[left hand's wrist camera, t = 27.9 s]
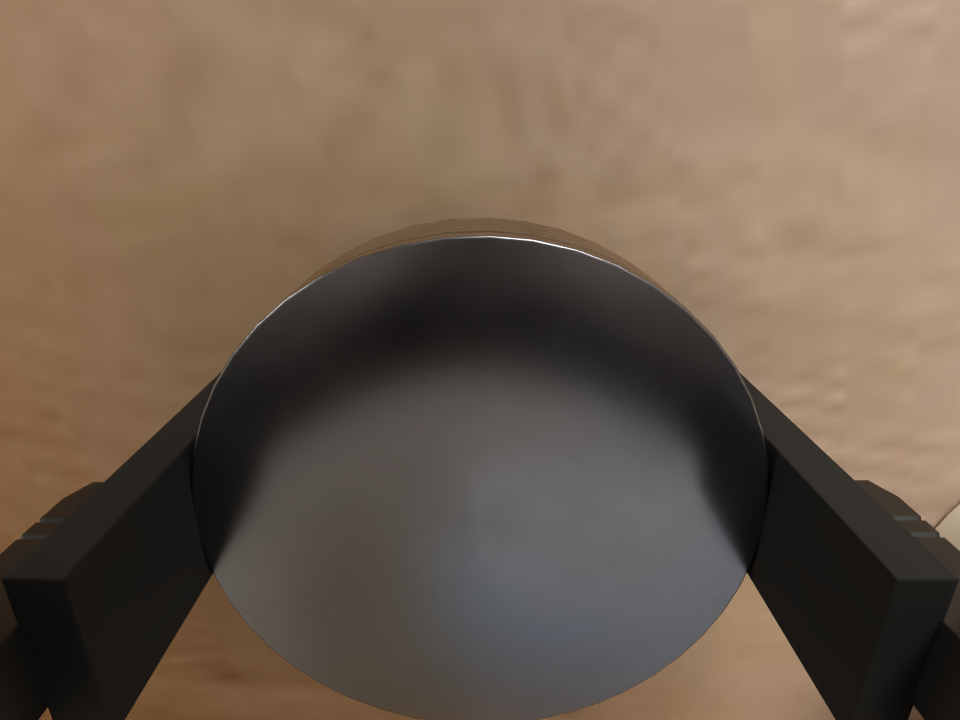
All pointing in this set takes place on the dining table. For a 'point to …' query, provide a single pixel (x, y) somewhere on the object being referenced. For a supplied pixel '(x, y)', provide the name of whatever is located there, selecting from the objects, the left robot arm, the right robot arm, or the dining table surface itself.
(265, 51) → the dining table surface
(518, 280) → the lid
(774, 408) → the left robot arm
